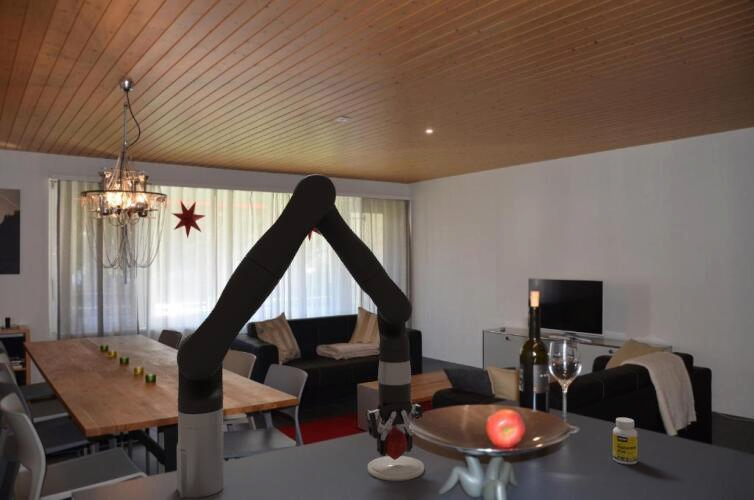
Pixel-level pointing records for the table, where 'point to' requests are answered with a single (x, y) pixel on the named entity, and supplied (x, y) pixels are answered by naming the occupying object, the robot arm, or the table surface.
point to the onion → (395, 443)
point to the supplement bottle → (625, 441)
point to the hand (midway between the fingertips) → (395, 452)
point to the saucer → (395, 468)
